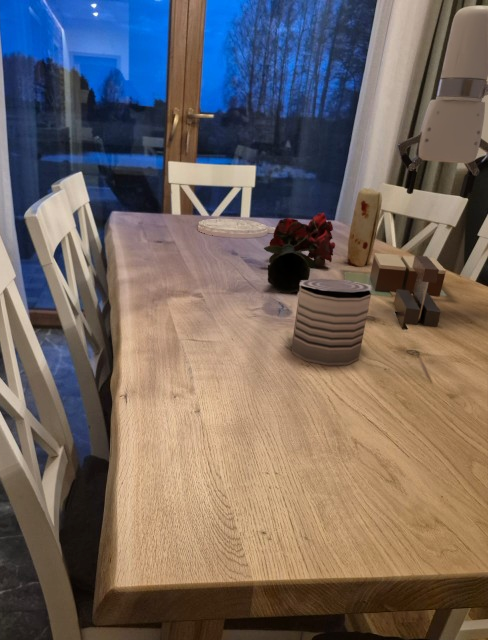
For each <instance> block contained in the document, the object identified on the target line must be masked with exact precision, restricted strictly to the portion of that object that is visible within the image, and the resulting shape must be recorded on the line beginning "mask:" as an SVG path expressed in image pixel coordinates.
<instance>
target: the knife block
mask: <svg viewBox="0 0 488 640" xmlns="http://www.w3.org/2000/svg"><path fill="white" fill-rule="evenodd" d="M412 295H413V294H411V293H410V291H409V290H399V289H397V291H396V292H395V296H394V301H393V306H394V308H395V311H394V313H395V315H396V318H397V319H398V322H399V324H400V326H401V328H402V329H404V330H405V329H406V330H408V326H407V325H412V326H413V325H414V326H416V325H418V323H419V322H418V317H419V313H420V308H419V307H418V305H417V303H416V302H415V300H414V298H413V297H412ZM441 313H442V311H441V310H440V308H439V306H438V305H437V304H436V302H435V301H434V300H433V298H432V296H431V295H429V294H428V292H426V295H425V300H424V304H423V308H422V312H421V317H420V322H421V324H422V325H423V326H424V327H434V328H438V325H439V322H440V319H441Z"/></svg>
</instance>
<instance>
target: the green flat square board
mask: <svg viewBox="0 0 488 640" xmlns="http://www.w3.org/2000/svg"><path fill="white" fill-rule="evenodd" d="M343 274H344V278H345V280H347V281H353V282H358V283H363V284H368V285H371V287H372V289H373V290H370V293H371V296H379V297H389V298H393V297H394V296H393V294H392V292H391V293H390V292H380V291H375V289H374V287H373V284H372V282H371V279H370V274H371V273H359V272H349V271H344V273H343ZM401 290H402V289H401ZM440 296H442V297H447V296H448V295H447V293H446V292H444V290H443V288H442V289H441V293H440Z"/></svg>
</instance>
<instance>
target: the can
mask: <svg viewBox="0 0 488 640" xmlns="http://www.w3.org/2000/svg"><path fill="white" fill-rule="evenodd" d="M370 290H373V289H372V287H371V285H368V284H363V283H358V282H353V281H347V280H346V279H330V278H314V279H308V280H301V281H300V290H298V296H297V297H298V298H297V303H296V304H297V306H296V313H295V320H294V328H293V333H292V342H291V352H292V353H293V354H292V353H291V354H292V355H294V356H296V357H297V356H298V357H297V358H299V357H300V358H299V359H301V360H302V361H304V360H305V361H304V362H307V361H309V362H308V363H312V362H313V364H317V365H322V366H327V367H330V366H349V365H351V364H353V363H356V362H358V361H359V359H360V355H361V354H360V353H361V349H362V345H363V338H364V335H365V334H364V333H365V328H366V324H367V323H366V322H367V318H368V312H369V307H370V302H371V296H372V295H371V293H370Z"/></svg>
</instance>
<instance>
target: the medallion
mask: <svg viewBox="0 0 488 640" xmlns="http://www.w3.org/2000/svg"><path fill="white" fill-rule="evenodd" d="M275 228H276V227H274V226H268V225H266V224H265V223H261V222H259V221H253V220H247V219H237V218H235V219H234V218H233V219H232V218H206V219H202V220H200V221H198V225H197V231H198V232H199V231H200V233H201V232H202V234H204V233H205V234H204V235H208V236H212V235H213V237H220V238H229V239H230V238H231V239H255V238H263V237H265V236H267V235H268V234H274V231H275Z"/></svg>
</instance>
